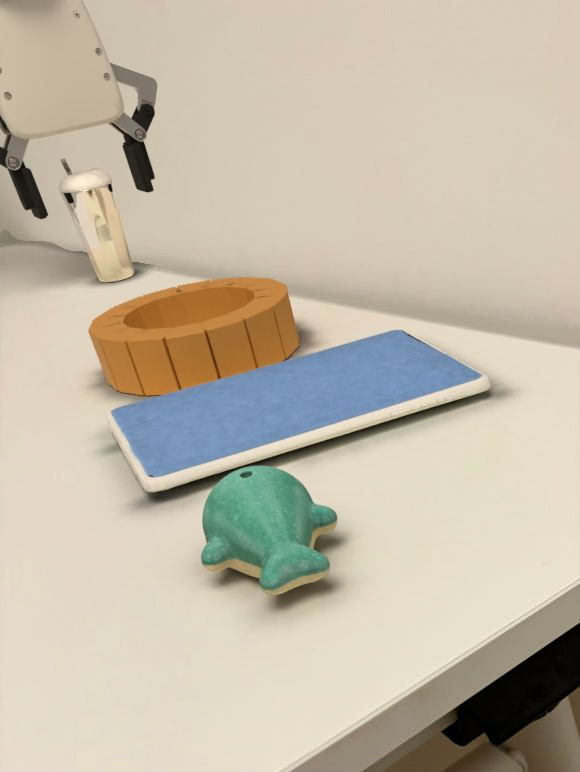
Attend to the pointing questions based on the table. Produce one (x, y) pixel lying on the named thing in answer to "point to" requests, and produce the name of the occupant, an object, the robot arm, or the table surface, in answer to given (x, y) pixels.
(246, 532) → the whale figurine
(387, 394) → the tablet
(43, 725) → the table surface
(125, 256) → the milkshake
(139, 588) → the table surface
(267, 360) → the segmented bracelet
